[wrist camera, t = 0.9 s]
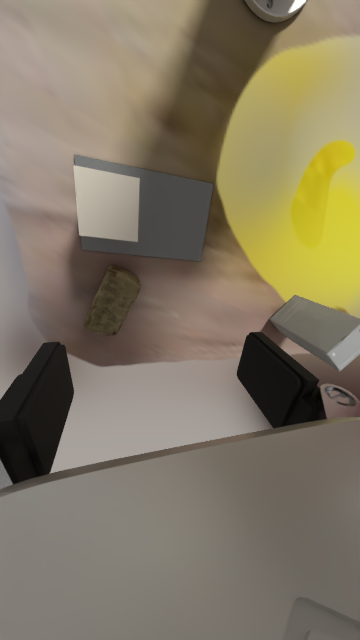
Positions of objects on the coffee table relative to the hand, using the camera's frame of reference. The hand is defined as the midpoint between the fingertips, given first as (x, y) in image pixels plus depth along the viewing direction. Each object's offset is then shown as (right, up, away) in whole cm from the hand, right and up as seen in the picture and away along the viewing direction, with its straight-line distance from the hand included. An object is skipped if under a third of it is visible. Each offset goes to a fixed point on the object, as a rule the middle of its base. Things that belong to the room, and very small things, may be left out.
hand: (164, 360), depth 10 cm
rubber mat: (-4, +19, +21) cm, 28 cm away
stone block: (-11, +6, +26) cm, 29 cm away
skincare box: (+26, +4, +37) cm, 46 cm away
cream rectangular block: (-9, +18, +19) cm, 28 cm away
